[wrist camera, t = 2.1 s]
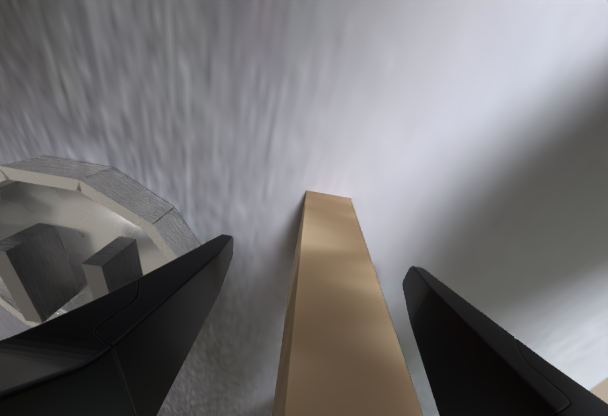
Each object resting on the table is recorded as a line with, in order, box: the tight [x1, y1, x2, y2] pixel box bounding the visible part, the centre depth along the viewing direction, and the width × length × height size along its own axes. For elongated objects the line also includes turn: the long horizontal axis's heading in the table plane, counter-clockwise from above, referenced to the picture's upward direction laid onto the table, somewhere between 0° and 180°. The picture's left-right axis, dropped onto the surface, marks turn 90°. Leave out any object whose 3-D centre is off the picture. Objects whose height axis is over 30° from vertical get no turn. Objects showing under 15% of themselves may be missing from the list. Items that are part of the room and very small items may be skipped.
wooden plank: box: [272, 191, 423, 416], centre depth 7 cm, size 2×4×8 cm, turn 170°
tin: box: [0, 156, 200, 327], centre depth 11 cm, size 11×11×2 cm
